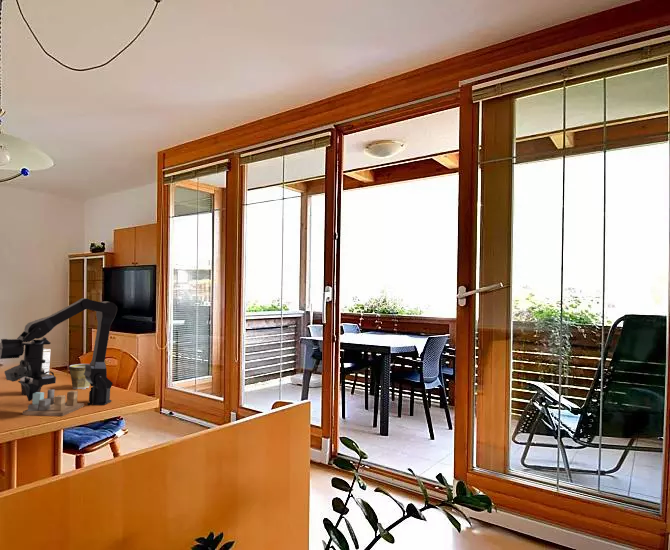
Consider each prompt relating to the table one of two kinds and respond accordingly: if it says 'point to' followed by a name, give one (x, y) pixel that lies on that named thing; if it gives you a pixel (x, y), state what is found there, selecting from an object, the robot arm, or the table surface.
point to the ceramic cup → (78, 376)
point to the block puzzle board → (55, 405)
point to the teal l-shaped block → (37, 397)
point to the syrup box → (46, 360)
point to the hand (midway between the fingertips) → (29, 400)
